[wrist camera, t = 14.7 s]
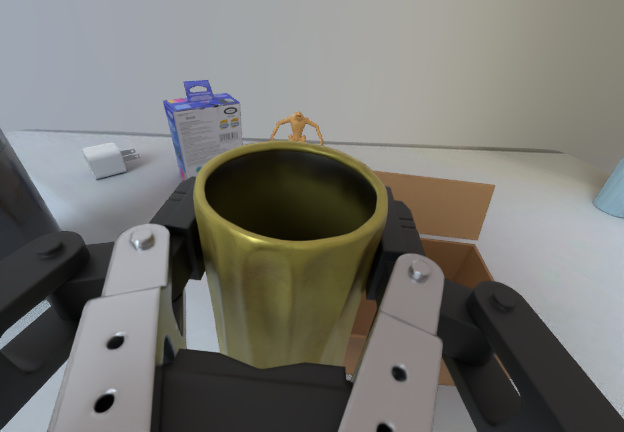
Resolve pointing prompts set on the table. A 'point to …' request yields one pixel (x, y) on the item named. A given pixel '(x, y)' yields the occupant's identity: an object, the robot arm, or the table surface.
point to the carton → (455, 266)
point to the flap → (441, 203)
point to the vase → (287, 248)
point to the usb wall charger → (107, 159)
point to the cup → (613, 193)
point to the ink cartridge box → (202, 127)
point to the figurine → (297, 127)
